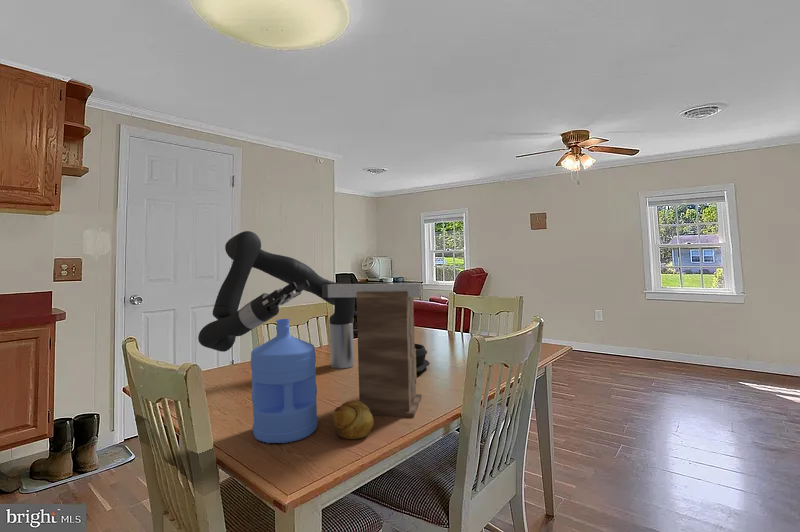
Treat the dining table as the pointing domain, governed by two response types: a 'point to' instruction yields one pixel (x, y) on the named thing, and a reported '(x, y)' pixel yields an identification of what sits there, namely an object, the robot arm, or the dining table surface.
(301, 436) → the water jug
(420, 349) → the casserole
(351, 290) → the steel bar
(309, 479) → the dining table surface
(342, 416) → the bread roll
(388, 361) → the stand
